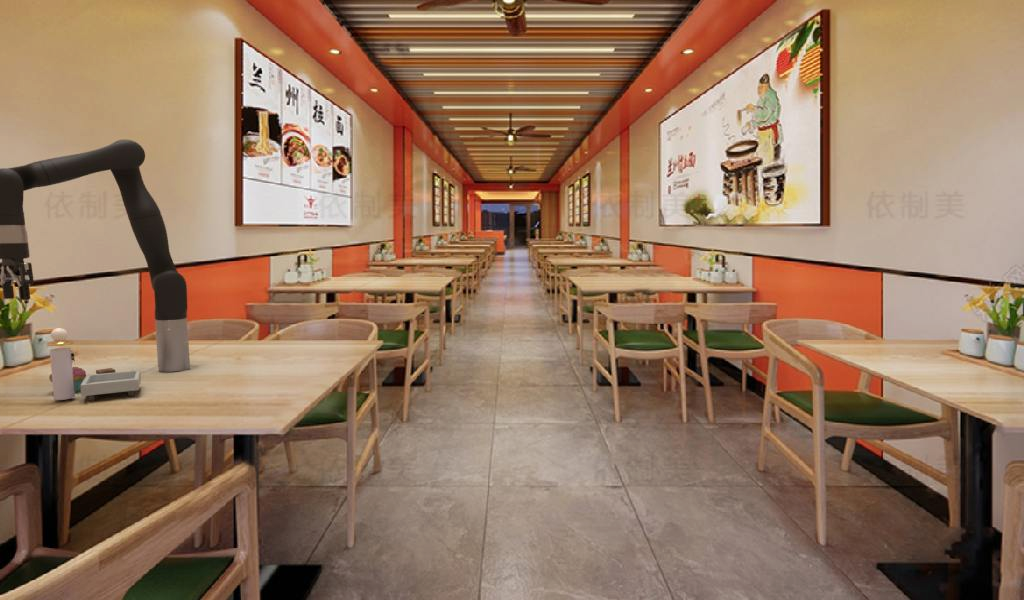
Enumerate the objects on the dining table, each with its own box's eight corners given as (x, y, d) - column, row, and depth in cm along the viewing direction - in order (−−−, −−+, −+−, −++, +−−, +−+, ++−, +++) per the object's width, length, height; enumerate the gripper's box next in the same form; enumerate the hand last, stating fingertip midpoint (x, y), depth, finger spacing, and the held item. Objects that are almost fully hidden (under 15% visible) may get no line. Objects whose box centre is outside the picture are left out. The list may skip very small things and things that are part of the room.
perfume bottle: (58, 404, 156) (52, 330, 154) (46, 401, 158) (40, 328, 156) (82, 399, 161) (76, 327, 159) (70, 396, 164) (64, 325, 161)
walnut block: (112, 380, 182) (111, 367, 182) (116, 382, 180) (115, 369, 179) (96, 382, 179) (95, 370, 179) (101, 385, 176) (100, 372, 176)
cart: (141, 386, 174) (140, 370, 174) (139, 396, 163) (138, 379, 163) (88, 392, 168) (86, 375, 168) (81, 403, 157) (80, 385, 156)
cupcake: (94, 389, 171) (91, 348, 170) (64, 396, 163) (60, 354, 162) (74, 386, 174) (70, 346, 173) (43, 393, 166) (39, 352, 165)
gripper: (40, 241, 164) (46, 298, 166) (13, 241, 170) (19, 296, 172) (8, 242, 158) (14, 301, 159) (-19, 242, 164) (-13, 299, 166)
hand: (16, 299), depth 166 cm, fingers open, 8 cm apart
